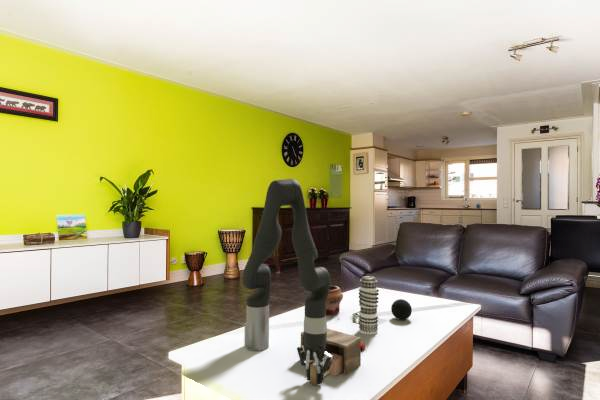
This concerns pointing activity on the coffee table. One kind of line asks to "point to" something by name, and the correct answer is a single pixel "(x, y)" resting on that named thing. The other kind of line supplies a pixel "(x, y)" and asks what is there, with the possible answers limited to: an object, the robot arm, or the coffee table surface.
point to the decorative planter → (333, 300)
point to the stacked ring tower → (368, 305)
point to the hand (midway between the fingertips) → (314, 381)
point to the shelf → (343, 348)
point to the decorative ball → (401, 309)
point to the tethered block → (334, 370)
